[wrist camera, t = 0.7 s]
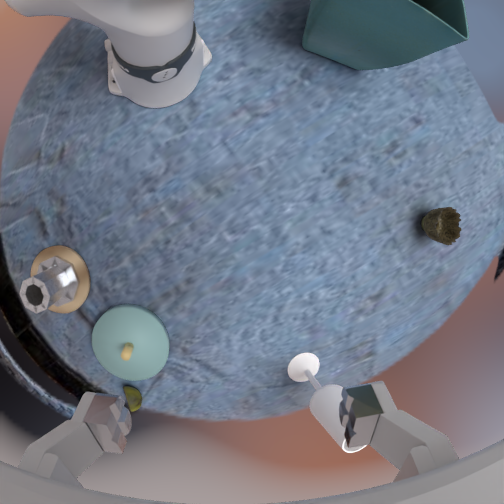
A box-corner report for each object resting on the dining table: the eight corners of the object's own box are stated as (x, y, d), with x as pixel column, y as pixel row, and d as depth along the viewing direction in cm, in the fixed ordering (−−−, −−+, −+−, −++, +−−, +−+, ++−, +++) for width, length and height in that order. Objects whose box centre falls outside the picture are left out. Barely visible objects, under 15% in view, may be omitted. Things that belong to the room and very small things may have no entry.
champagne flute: (300, 347, 60) (357, 417, 37) (325, 360, 62) (386, 427, 38) (280, 374, 60) (326, 452, 37) (306, 386, 62) (357, 460, 38)
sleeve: (32, 266, 48) (5, 278, 38) (68, 250, 49) (44, 259, 39) (50, 308, 49) (26, 327, 39) (85, 294, 50) (66, 312, 40)
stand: (24, 259, 48) (21, 260, 47) (75, 235, 50) (73, 235, 48) (49, 319, 50) (47, 321, 49) (100, 299, 52) (99, 301, 51)
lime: (134, 405, 56) (131, 419, 51) (116, 389, 55) (111, 403, 50) (148, 393, 56) (146, 407, 51) (130, 377, 55) (126, 391, 50)
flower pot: (296, -13, 50) (350, -98, 22) (379, 21, 54) (456, -38, 26) (278, 57, 52) (341, -33, 24) (372, 92, 56) (470, 42, 28)
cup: (436, 240, 63) (461, 244, 55) (412, 241, 62) (437, 246, 54) (437, 206, 62) (462, 207, 54) (413, 205, 61) (438, 206, 53)
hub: (82, 318, 52) (71, 330, 45) (150, 292, 53) (145, 303, 47) (116, 382, 54) (110, 400, 48) (181, 361, 56) (181, 378, 50)
